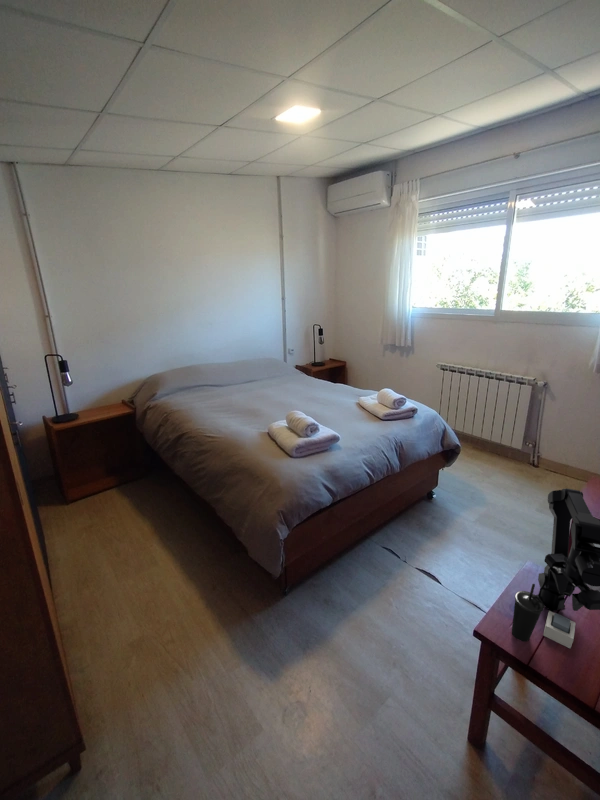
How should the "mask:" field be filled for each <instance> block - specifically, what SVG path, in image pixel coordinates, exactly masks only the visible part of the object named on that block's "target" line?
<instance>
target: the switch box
mask: <svg viewBox="0 0 600 800" xmlns="http://www.w3.org/2000/svg"><path fill="white" fill-rule="evenodd" d="M555 613H556V612H554V611H552V612H551V611H549V610H548V613H547V617H546V620H545V625H544V630H543V634H542V636H544V637H545V638H548V639H550V640H551V641H553V642H556V643H557V644H560V645H562V646H564V647H566V648H568V649H572V645H573V643H574V640H575V639H574V638H575V629H576V622H575V621H573V620H571V619H570V627H569V631H568V633H566V632H564V631H562V630H560V629H557V628H555V627H553V626H552V622H553V618H554V614H555Z"/></svg>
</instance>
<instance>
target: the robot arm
mask: <svg viewBox="0 0 600 800" xmlns="http://www.w3.org/2000/svg"><path fill="white" fill-rule="evenodd" d="M547 503H548V509H549V511H550V513H551V515H552V516H553V527H552V539H551V540H552V541H551V551H550V552H551V553H548V554H547V555H545V558H544V563H545V564H546V565H545V566H544V569H543V570H544V571H543V572H541V573H538V578H537V580H538V584H539V591H538V594H535V595H536V596H537V597H539V598H540V599H541V601H542V602H543V604H544V608H546V609H547V610H548V612H549V611H551V612H555V611H559V610H562V609H565V607H566V605H565V602H566V598H565V597H568V598H569V597H571V599H572V601H571V602H572V603H571V606H572V610H573V611H575V612H577V611H579V610H580V609H582V607H584V608H585V609H587V610H589V611H595V610H596V611H599V610H600V591H599V589H596V590H595V589H592V588H591V587H600V547H599V546H600V519H598V518H597V517H594V516H593V515H592V512H591V510H590V508H589V507H588V505H587V503H586V500H585V499H584V494H583V491H580V490H577V489H573V488H572V489H571V488H562V489H557V490H552V491H550V492H549V493H548V495H547ZM571 520H572V521H573V522H571ZM570 533H571V545H569V544H570ZM595 545H598V546H595ZM569 546H571V547H570V548H569ZM569 549H570V550H569ZM589 586H591V587H589ZM575 588H578V589H579V592H578V593H574V592H575Z"/></svg>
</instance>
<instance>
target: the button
mask: <svg viewBox="0 0 600 800" xmlns="http://www.w3.org/2000/svg"><path fill="white" fill-rule="evenodd" d="M554 613H555V614H554V618H553V622H552V626H553V627H555V628H557V629H560V630H562V631H564V632H566V633H568V631H569V627H570V620H571V619H569V618H567V617H566V616H563V615H561V614H560V613H556V612H554Z"/></svg>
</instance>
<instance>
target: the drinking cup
mask: <svg viewBox="0 0 600 800" xmlns="http://www.w3.org/2000/svg"><path fill="white" fill-rule="evenodd" d="M535 588H536V584H535V583H532V584H531V588H530V592H529V591H526V590H519V591H517V592H515V595H514V607H513V616H512V625H511V626H512V627H511V633H512V636H513V637H514V638H515V639H517V640H518V641H520V642H524V643H526V642H528V641H529V640H530V638H531V637H532V634H533V632H534V629H535V628H536V626H537V623H538V621H539V618H540V616H541V614H542V613H543V611H544V610H545V606H544V604H543V602H542V601H541V599H540V598H539V597H537V596H536V595H537V594H534V591H535Z"/></svg>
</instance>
